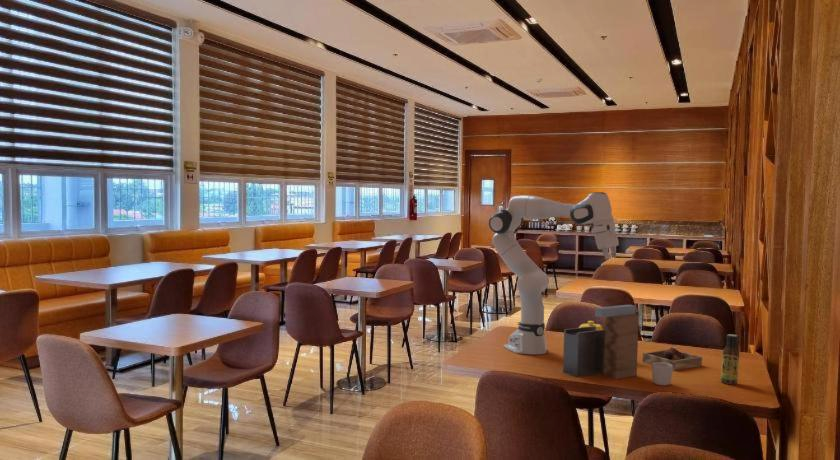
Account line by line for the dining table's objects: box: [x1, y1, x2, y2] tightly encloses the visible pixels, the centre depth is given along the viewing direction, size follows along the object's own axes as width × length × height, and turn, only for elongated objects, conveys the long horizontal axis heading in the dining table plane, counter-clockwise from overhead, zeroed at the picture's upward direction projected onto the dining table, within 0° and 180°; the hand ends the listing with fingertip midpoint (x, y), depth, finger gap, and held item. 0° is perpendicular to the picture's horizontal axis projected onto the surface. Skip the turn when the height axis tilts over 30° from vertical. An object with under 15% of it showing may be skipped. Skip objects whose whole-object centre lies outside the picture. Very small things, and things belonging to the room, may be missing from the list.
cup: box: [651, 362, 673, 387], centre depth 261 cm, size 11×8×8 cm
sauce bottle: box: [720, 333, 740, 386], centre depth 263 cm, size 6×6×20 cm
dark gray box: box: [562, 326, 605, 378], centre depth 275 cm, size 8×18×18 cm, turn 120°
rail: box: [594, 304, 637, 318], centre depth 268 cm, size 4×20×4 cm, turn 120°
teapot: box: [578, 320, 604, 330], centre depth 326 cm, size 20×19×13 cm
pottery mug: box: [662, 347, 685, 361], centre depth 293 cm, size 12×10×8 cm
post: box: [603, 313, 640, 380], centre depth 271 cm, size 7×12×26 cm, turn 120°
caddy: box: [642, 349, 703, 372], centre depth 293 cm, size 17×19×4 cm
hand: (611, 258), depth 284 cm, fingers open, 8 cm apart
